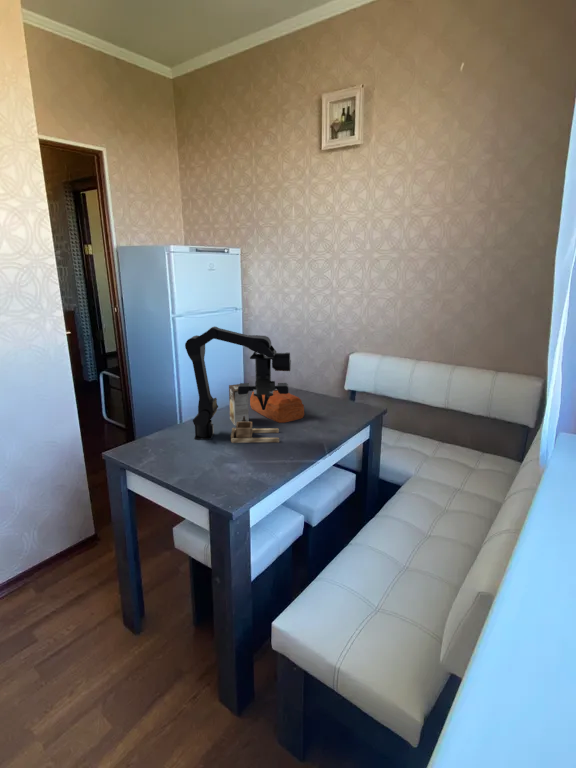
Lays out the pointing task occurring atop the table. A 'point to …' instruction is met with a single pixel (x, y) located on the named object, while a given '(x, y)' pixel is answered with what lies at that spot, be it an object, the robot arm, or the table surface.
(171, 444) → the table surface
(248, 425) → the crate
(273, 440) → the beige cubby shelf
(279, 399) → the bread
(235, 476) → the table surface
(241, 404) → the coffee box
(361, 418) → the table surface
